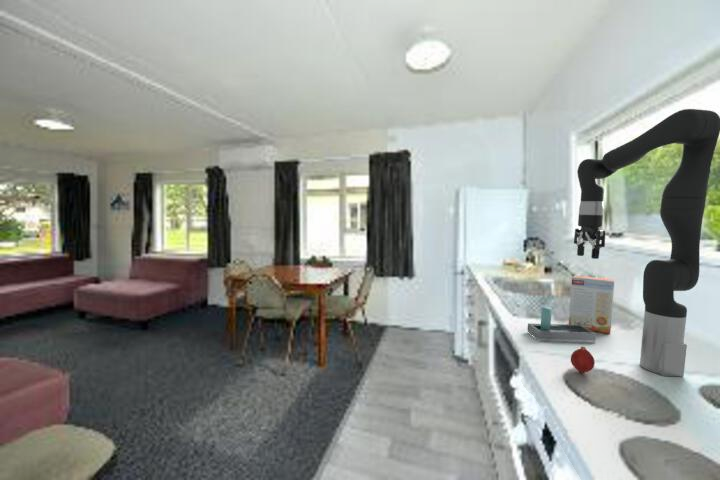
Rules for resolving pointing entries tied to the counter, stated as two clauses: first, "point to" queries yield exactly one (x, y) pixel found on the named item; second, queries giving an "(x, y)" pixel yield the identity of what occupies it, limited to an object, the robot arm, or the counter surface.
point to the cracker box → (591, 303)
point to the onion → (582, 360)
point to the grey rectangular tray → (562, 333)
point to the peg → (545, 318)
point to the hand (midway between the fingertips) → (587, 257)
